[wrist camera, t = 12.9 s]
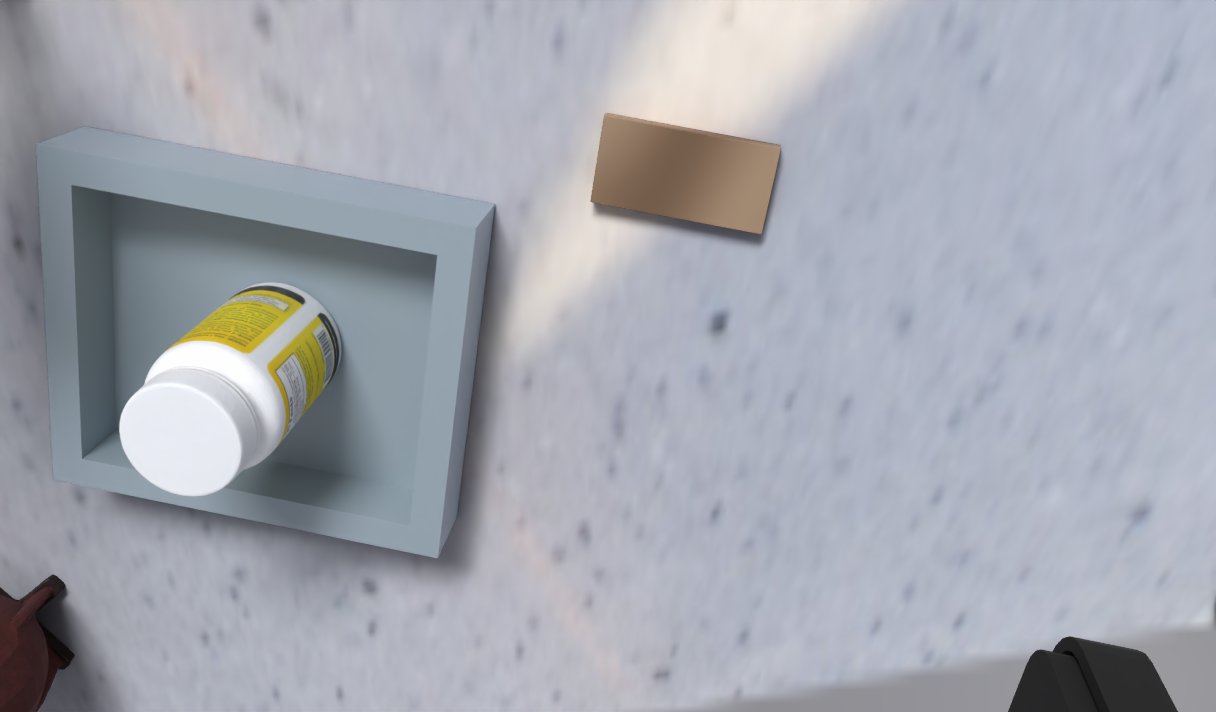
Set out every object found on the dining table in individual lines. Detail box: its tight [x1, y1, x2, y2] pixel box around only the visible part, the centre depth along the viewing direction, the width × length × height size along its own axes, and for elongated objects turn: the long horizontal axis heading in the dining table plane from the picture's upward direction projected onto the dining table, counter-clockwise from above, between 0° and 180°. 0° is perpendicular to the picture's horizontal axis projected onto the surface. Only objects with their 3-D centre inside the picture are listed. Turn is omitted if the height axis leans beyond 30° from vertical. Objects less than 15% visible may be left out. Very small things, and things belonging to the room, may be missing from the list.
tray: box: [36, 126, 495, 558], centre depth 41 cm, size 15×13×3 cm
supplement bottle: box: [119, 282, 341, 497], centre depth 38 cm, size 5×5×8 cm
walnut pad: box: [591, 113, 781, 234], centre depth 38 cm, size 6×3×1 cm, turn 81°
